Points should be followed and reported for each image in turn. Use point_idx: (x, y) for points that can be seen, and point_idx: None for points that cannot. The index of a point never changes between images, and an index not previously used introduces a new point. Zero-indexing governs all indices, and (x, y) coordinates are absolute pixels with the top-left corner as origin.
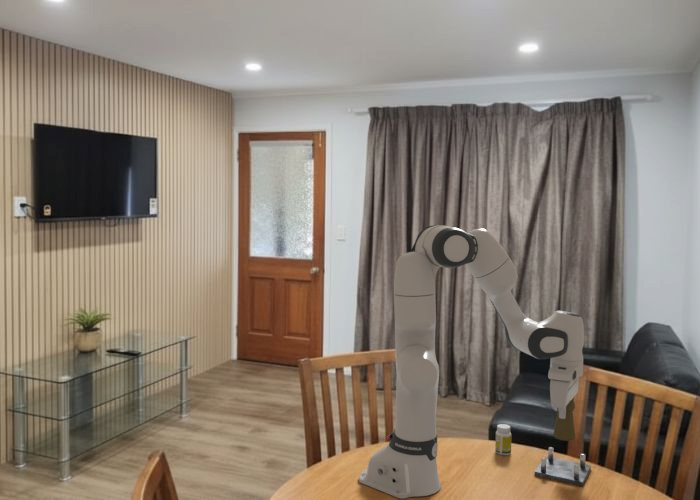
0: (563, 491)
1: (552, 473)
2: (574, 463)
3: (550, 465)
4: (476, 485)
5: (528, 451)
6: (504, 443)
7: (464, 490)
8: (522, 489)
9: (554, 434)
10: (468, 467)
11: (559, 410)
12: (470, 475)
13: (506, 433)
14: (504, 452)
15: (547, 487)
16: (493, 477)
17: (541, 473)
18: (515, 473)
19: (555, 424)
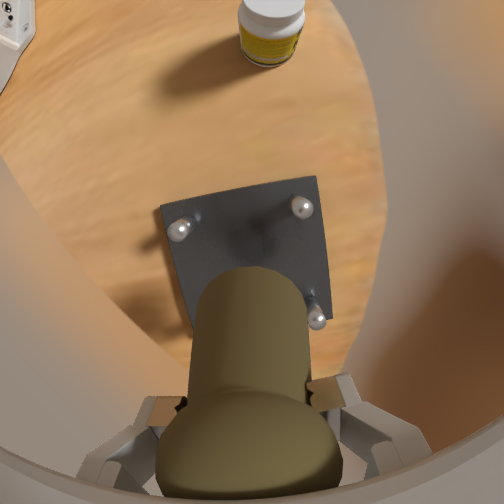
0: (136, 307)
1: (187, 256)
2: (316, 277)
3: (244, 224)
4: (30, 133)
5: (339, 104)
6: (244, 39)
7: (6, 135)
8: (73, 223)
9: (208, 289)
10: (97, 49)
11: (117, 440)
12: (61, 85)
13: (257, 23)
14: (246, 54)
15: (124, 267)
16: (80, 128)
17: (166, 227)
18: (139, 153)
19: (213, 315)
